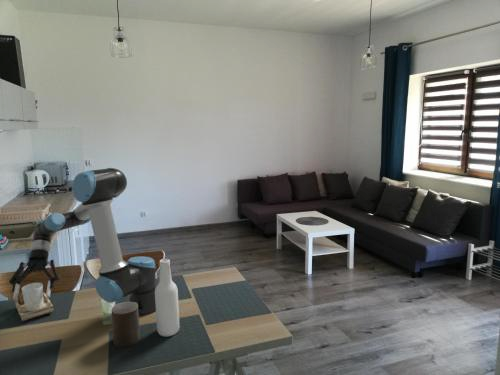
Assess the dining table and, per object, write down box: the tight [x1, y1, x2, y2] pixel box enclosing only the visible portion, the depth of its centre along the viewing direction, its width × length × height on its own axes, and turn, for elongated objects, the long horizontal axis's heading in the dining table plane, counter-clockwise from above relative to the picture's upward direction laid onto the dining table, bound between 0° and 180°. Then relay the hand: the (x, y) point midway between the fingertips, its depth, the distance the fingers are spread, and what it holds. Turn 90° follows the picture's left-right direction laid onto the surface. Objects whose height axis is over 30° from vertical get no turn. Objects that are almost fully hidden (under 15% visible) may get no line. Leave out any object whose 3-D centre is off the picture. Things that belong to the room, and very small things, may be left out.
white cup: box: [21, 282, 44, 311], centre depth 158 cm, size 8×8×10 cm
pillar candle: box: [111, 301, 141, 348], centre depth 139 cm, size 10×10×15 cm
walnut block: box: [18, 292, 25, 305], centre depth 164 cm, size 4×4×4 cm
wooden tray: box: [14, 291, 55, 322], centre depth 162 cm, size 18×12×4 cm, turn 40°
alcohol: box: [155, 258, 181, 337], centre depth 143 cm, size 9×9×30 cm
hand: (31, 297), depth 156 cm, fingers open, 12 cm apart
